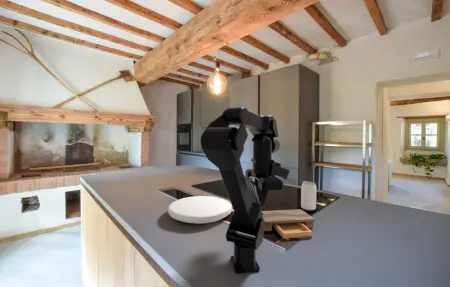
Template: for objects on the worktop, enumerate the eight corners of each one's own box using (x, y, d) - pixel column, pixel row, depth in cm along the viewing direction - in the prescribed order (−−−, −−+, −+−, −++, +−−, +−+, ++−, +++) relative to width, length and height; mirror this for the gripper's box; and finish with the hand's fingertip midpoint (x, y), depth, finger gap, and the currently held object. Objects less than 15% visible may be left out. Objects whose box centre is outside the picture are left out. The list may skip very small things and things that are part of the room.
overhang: (314, 227, 76) (314, 218, 76) (262, 231, 73) (262, 222, 72) (300, 216, 86) (300, 209, 85) (254, 219, 82) (254, 211, 82)
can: (306, 211, 92) (307, 184, 91) (298, 206, 98) (298, 181, 98) (319, 209, 94) (319, 183, 93) (309, 205, 100) (310, 180, 99)
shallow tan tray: (312, 237, 69) (312, 231, 69) (283, 239, 67) (284, 233, 67) (291, 220, 82) (291, 215, 82) (268, 221, 81) (268, 216, 81)
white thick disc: (184, 192, 104) (236, 196, 99) (184, 205, 104) (236, 210, 99) (155, 205, 77) (224, 211, 72) (154, 222, 77) (224, 230, 71)
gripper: (302, 159, 56) (300, 215, 57) (274, 152, 74) (274, 195, 75) (262, 159, 54) (262, 217, 55) (245, 153, 73) (244, 196, 73)
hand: (261, 205), depth 65 cm, fingers closed
